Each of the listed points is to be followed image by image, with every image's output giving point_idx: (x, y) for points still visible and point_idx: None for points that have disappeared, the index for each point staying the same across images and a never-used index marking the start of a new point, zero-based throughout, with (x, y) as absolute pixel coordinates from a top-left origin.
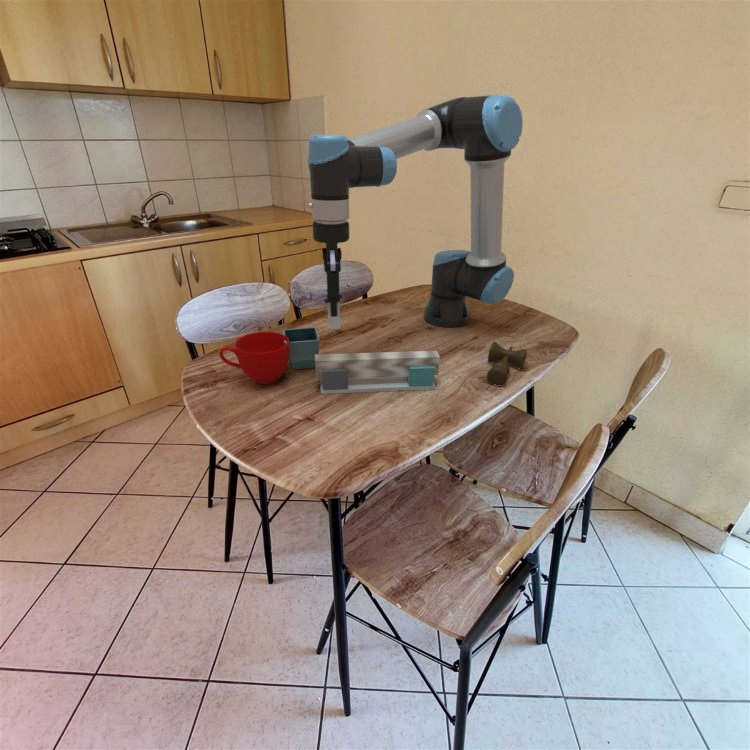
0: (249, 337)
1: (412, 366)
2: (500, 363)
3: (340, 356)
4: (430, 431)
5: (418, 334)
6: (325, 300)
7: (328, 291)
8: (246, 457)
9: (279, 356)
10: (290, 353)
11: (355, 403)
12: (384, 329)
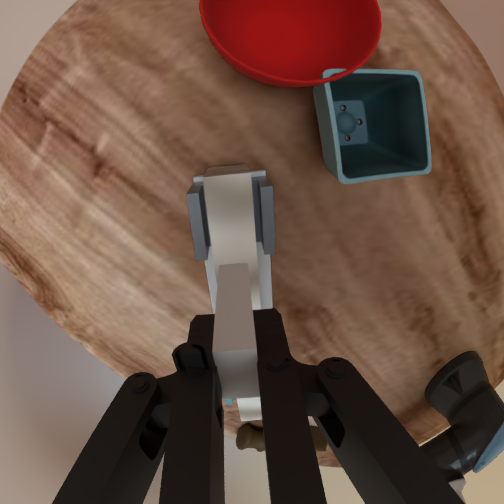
0: None
1: None
2: (262, 449)
3: (237, 250)
4: (107, 352)
5: (426, 350)
6: (181, 358)
7: (92, 437)
8: (11, 98)
9: (229, 61)
10: (316, 89)
11: (161, 252)
12: (462, 298)
